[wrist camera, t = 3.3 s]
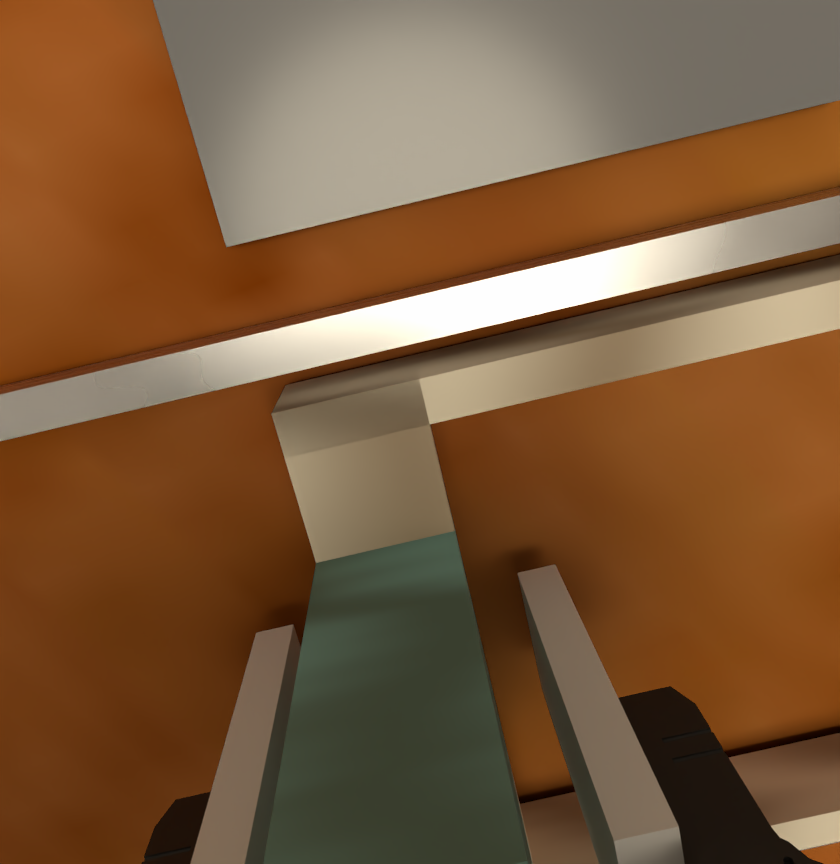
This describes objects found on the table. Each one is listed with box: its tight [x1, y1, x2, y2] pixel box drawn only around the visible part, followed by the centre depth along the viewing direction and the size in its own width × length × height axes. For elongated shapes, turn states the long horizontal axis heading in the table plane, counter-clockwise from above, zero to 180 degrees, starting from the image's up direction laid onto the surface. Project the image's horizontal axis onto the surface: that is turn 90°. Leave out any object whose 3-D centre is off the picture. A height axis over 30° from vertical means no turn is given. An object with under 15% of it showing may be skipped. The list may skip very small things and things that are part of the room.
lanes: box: [0, 187, 840, 851], centre depth 16 cm, size 32×14×1 cm, turn 103°
